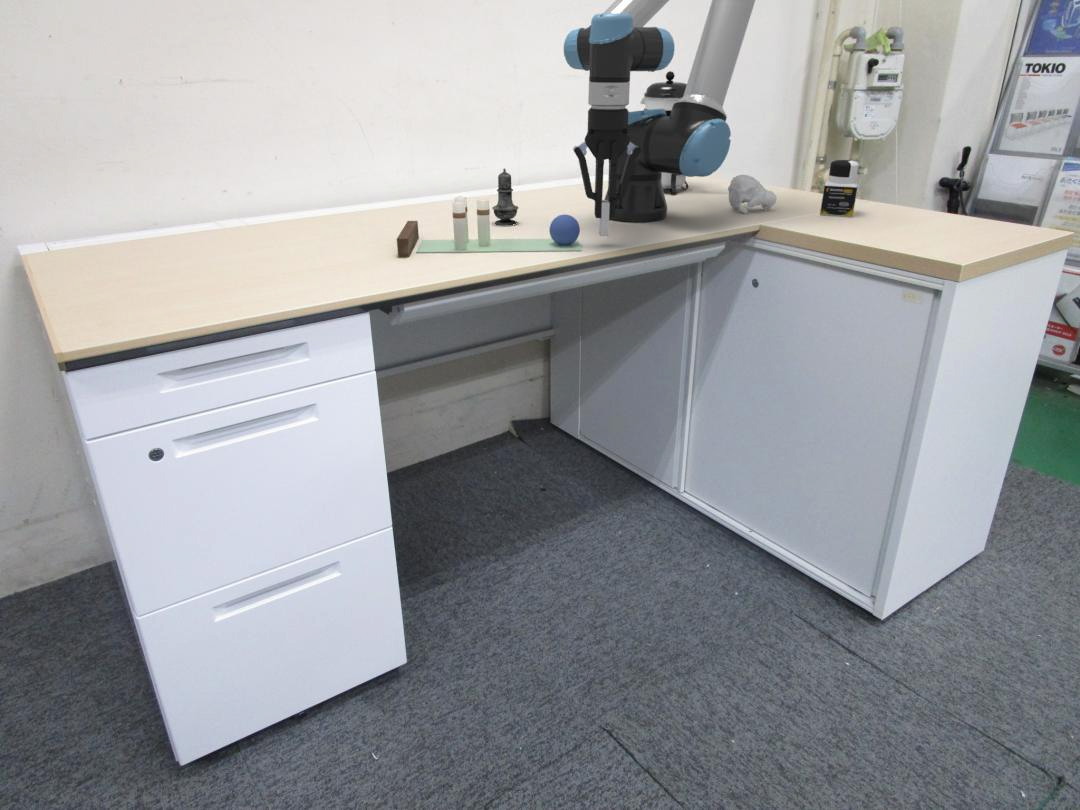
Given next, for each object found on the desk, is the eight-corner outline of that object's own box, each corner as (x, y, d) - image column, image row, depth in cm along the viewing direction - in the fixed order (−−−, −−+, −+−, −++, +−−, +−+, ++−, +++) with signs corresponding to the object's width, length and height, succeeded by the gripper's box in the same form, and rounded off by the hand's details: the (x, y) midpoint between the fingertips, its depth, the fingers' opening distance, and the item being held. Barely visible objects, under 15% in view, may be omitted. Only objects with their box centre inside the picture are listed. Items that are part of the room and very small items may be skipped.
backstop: (418, 237, 156) (417, 220, 154) (408, 257, 141) (407, 238, 140) (409, 237, 156) (407, 220, 154) (398, 257, 141) (396, 238, 140)
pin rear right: (469, 241, 152) (467, 196, 149) (468, 244, 150) (466, 198, 146) (457, 241, 152) (454, 196, 148) (456, 244, 150) (453, 199, 146)
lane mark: (577, 239, 154) (577, 238, 154) (581, 251, 145) (581, 250, 145) (421, 240, 153) (421, 240, 153) (416, 253, 144) (416, 252, 144)
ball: (578, 241, 152) (578, 211, 150) (580, 248, 147) (581, 217, 144) (548, 241, 152) (548, 211, 149) (550, 248, 147) (550, 218, 144)
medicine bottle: (819, 215, 174) (828, 162, 169) (821, 209, 180) (829, 158, 175) (852, 217, 172) (861, 163, 167) (853, 211, 178) (862, 159, 173)
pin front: (490, 244, 150) (489, 198, 146) (490, 247, 148) (489, 201, 144) (478, 244, 150) (476, 198, 146) (477, 247, 148) (476, 201, 144)
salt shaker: (515, 226, 165) (514, 170, 160) (489, 225, 166) (487, 169, 161) (521, 221, 170) (520, 166, 165) (496, 220, 171) (494, 166, 166)
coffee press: (647, 197, 196) (654, 72, 183) (628, 187, 211) (633, 70, 198) (708, 194, 200) (720, 71, 187) (686, 184, 214) (695, 70, 201)
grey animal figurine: (728, 172, 177) (773, 175, 180) (721, 208, 181) (765, 211, 184) (740, 176, 172) (786, 179, 175) (733, 214, 175) (778, 216, 178)
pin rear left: (467, 248, 148) (465, 201, 144) (466, 251, 145) (464, 204, 141) (455, 248, 147) (452, 201, 144) (454, 251, 145) (451, 204, 141)
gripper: (575, 108, 135) (572, 239, 145) (646, 108, 135) (639, 238, 145) (571, 106, 141) (569, 230, 152) (639, 105, 142) (633, 230, 152)
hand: (603, 234), depth 148 cm, fingers closed
